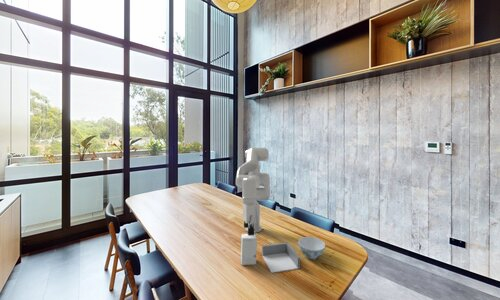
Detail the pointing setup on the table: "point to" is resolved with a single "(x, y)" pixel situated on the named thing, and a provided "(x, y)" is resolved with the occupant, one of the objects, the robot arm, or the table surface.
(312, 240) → the chinaware
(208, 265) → the table surface
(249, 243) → the skincare box
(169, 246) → the table surface
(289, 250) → the corner jig
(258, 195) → the robot arm
